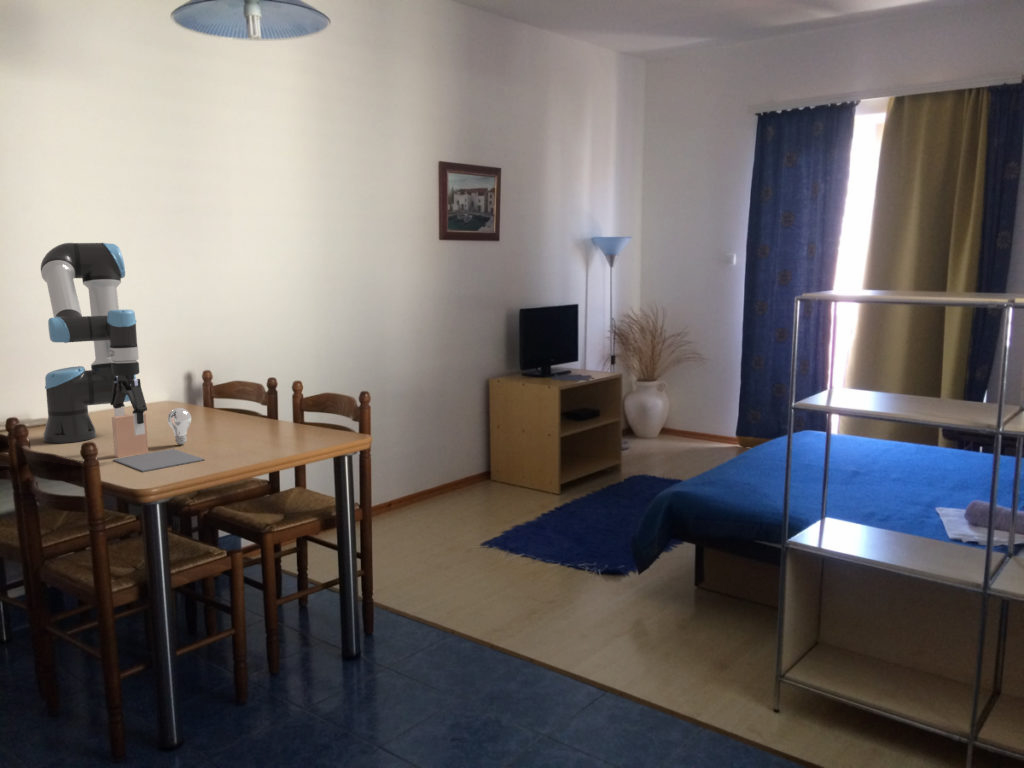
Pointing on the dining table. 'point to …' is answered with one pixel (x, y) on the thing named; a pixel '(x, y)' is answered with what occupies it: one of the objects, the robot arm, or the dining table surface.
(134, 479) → the dining table surface
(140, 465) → the mat
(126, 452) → the tile
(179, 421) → the light bulb
